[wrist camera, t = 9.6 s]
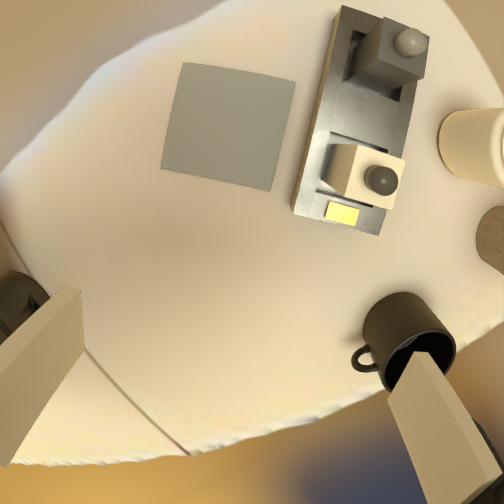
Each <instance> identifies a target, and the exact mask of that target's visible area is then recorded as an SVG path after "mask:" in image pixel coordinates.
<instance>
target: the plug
mask: <svg viewBox="0 0 504 504" xmlns="http://www.w3.org/2000/svg"><path fill="white" fill-rule="evenodd" d="M405 162H406V161H405V160H402V159H400V158H397V157H394V156H391V155H388V154H386V153H383V152H380V151H377V150H374V149H371V148H368V147H365V146H362V145H359V144H332V145H331V149H330V153H329V157H328V161H327V165H326V169H325V173H324V176H323V180H322V181H324V182H325V183H326V184H328V185H329V186H330V187H332V188H333V189H335V190H336V191H337V192H339V193H340V194H341V195H343V196H344V197H347V198H351V199H354V200H358V201H361V202H365V203H368V204H371V205H375V206H378V207H381V208H385V209H388V210H391V211H392V209H393V206H394V202H395V199H396V195H397V192H398V188H399V185H400V181H401V178H402V174H403V170H404V166H405Z"/></svg>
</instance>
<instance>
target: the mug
mask: <svg viewBox="0 0 504 504" xmlns="http://www.w3.org/2000/svg"><path fill="white" fill-rule="evenodd" d="M363 336H364V340H365V343H366V345H364V347H362V348H360V349H358V350H357V351H356V352H355V353H354V354H353V356H352V358H351V364H352V366H353V368H354V369H355V370H357V371H359V372H365V373H367V372H373V371H374V372H375V371H377V372H378V374H379V377H380V379H381V382H382V384H383V386H384V387H385V388H386V390H388V391H389V392H390V393H392V391H393V389H394V388H395V386H396V384H397V382H398V381H399V379H400V377H401V375H402V373H403V372H404V370H405V368H406V366H407V364H408V362H409V360H410V358H411V357H412V355H413V353H414V351H415V352H428V353H429V354H430V356H431V357H432V359H433V360H434V362H435V363H436V365H437V366H438V368H439V369H440V370H441V372H442V373H443V375H444V376H445V374H446V373H447V372H448V370H449V369H450V367H451V366H452V363H453V361H454V359H455V355H456V343H455V340H454V338H453V336H452V335H451V334H450V333H449V331H448V330H447V329H446V328H445V326H444V325H443V324H442V323H441V321H440V320H439V319H438V318H437V317H436V315H435V314H434V313H433V312H432V311H431V309H430V308H429V307H428V306H427V305H426V303H425V302H424V301H423V300H422V299H421V298H420V297H418V296H416V295H414V294H410V293H397V294H394V295H391V296H388V297H386V298H385V299H383V300H381V301H380V302H379V303H378V304H376V305H375V306H374V307H373V309H372V310H371V311H370V313H369V314H368V316H367V318H366V321H365V324H364V328H363ZM369 352H370V355H371V357H372V359H373V362H374V363H373V364H372V365H362V364H360V363H359V362H358V358H359V357H360V356H361V355H362V354H364V353H369Z"/></svg>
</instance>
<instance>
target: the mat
mask: <svg viewBox="0 0 504 504" xmlns="http://www.w3.org/2000/svg"><path fill="white" fill-rule="evenodd" d="M295 83H296V82H293V81H289V80H285V79H280V78H276V77H271V76H267V75H262V74H257V73H252V72H246V71H241V70H235V69H229V68H223V67H216V66H209V65H201V64H193V63H184V62H183V65H182V69H181V73H180V77H179V81H178V85H177V90H176V94H175V98H174V102H173V107H172V111H171V116H170V121H169V126H168V131H167V135H166V141H165V146H164V151H163V157H162V162H161V168H160V169H164V170H170V171H175V172H180V173H185V174H190V175H195V176H200V177H205V178H210V179H215V180H220V181H224V182H229V183H234V184H238V185H243V186H247V187H252V188H256V189H260V190H265V191H269V192H270V188H271V184H272V180H273V175H274V171H275V167H276V163H277V159H278V155H279V150H280V146H281V142H282V138H283V134H284V129H285V125H286V121H287V117H288V113H289V108H290V104H291V100H292V96H293V92H294V87H295Z"/></svg>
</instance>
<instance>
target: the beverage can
mask: <svg viewBox="0 0 504 504" xmlns="http://www.w3.org/2000/svg"><path fill="white" fill-rule="evenodd" d="M439 149H440V153H441V156H442V159H443V161H444V163H445V164H446V166H447V167H448V169H449V170H450V171H451V172H452V173H454V174H455V175H457V176H459V177H462V178H465V179H469V180H473V181H476V182H480V183H484V184H487V185H490V186H494V187H497V188H501V189H504V108H491V109H476V110H464V111H456V112H453V113H452V114H450V115H449V116H448V117H447V118H446V119H445V120H444V122H443V124H442V126H441V129H440V133H439Z"/></svg>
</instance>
